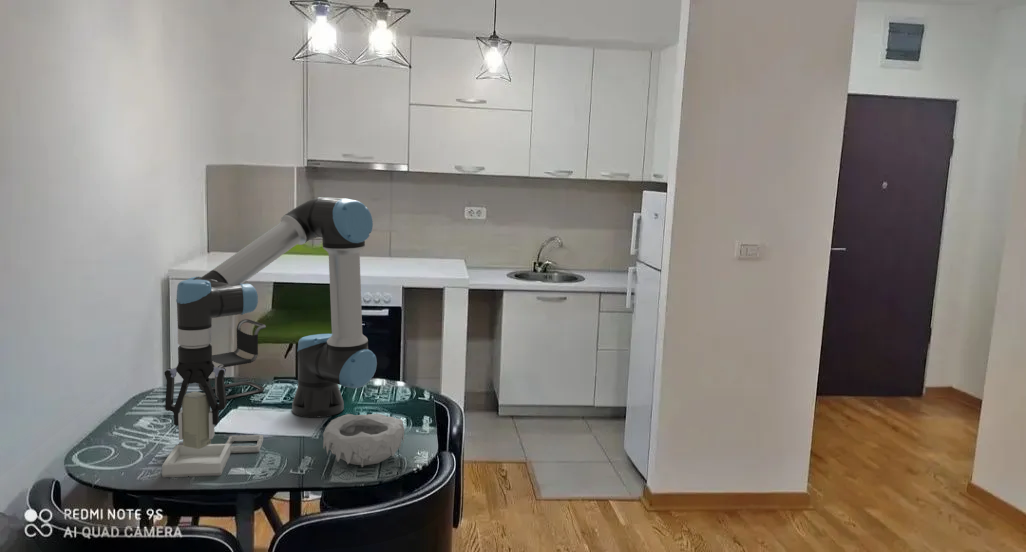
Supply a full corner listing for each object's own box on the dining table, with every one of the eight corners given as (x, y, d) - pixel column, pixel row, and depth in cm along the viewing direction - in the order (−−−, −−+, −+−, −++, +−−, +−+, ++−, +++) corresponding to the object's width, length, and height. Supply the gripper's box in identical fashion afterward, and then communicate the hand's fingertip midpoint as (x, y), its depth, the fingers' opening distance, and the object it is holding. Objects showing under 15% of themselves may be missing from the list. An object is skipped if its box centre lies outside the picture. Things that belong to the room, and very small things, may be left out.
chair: (268, 391, 248) (267, 325, 245) (216, 402, 235) (214, 332, 232) (249, 382, 257) (248, 318, 253) (198, 392, 244) (196, 325, 241)
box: (211, 444, 187) (211, 393, 185) (198, 450, 183) (199, 398, 181) (194, 440, 189) (194, 390, 187) (181, 446, 185) (181, 395, 183)
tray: (230, 454, 194) (230, 443, 194) (220, 475, 182) (220, 463, 181) (176, 456, 192) (175, 445, 192) (162, 477, 179) (162, 465, 179)
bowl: (410, 472, 187) (411, 433, 186) (324, 479, 182) (324, 439, 180) (398, 442, 207) (399, 407, 206) (321, 448, 201) (321, 411, 200)
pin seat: (263, 440, 205) (263, 434, 205) (258, 452, 197) (258, 446, 197) (230, 441, 204) (229, 435, 203) (224, 453, 195) (224, 447, 195)
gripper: (239, 340, 188) (240, 431, 191) (156, 341, 184) (158, 433, 188) (234, 348, 181) (235, 441, 184) (147, 348, 177) (150, 444, 180)
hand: (196, 437), depth 186 cm, fingers closed on box, 6 cm apart
